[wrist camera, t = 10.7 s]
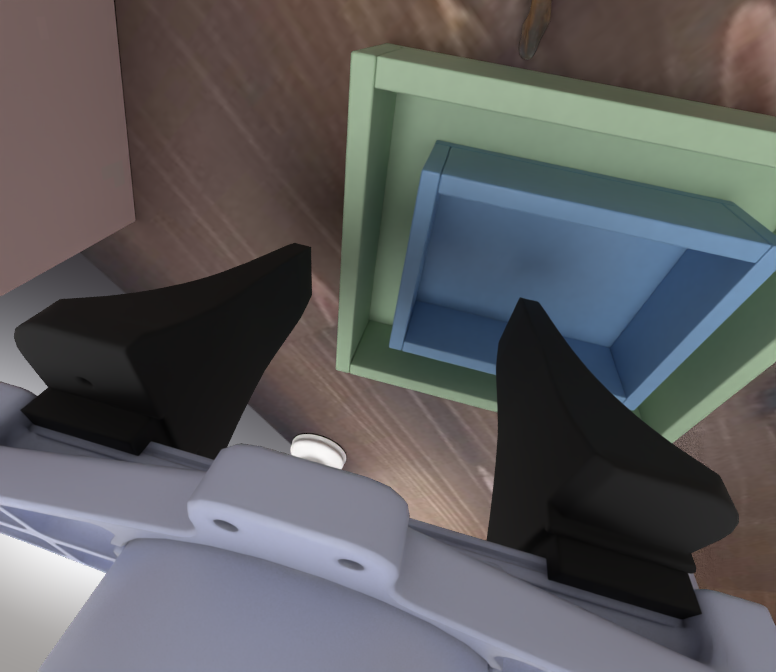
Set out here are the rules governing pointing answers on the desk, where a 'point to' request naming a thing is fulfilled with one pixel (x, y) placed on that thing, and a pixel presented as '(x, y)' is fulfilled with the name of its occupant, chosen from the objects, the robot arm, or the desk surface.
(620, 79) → the desk surface
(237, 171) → the desk surface
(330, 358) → the desk surface
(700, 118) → the big bin
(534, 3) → the lion figurine
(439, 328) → the blue bin
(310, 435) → the chess piece
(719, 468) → the desk surface
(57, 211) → the greeting card
